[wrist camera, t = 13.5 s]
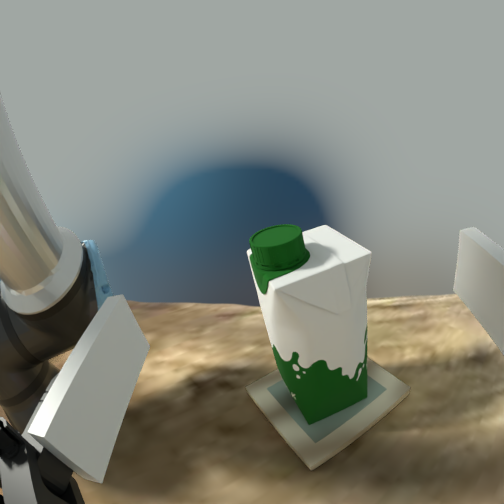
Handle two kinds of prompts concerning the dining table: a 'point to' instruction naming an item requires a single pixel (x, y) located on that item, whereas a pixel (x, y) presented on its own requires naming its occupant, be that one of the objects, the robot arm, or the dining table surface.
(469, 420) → the dining table surface
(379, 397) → the plate
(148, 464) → the dining table surface
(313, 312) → the soya milk
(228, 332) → the dining table surface
